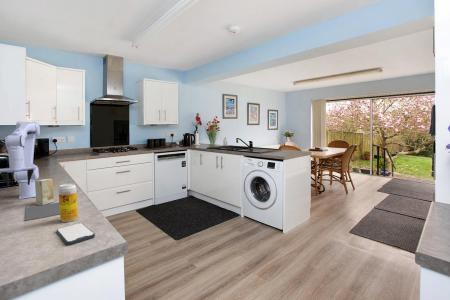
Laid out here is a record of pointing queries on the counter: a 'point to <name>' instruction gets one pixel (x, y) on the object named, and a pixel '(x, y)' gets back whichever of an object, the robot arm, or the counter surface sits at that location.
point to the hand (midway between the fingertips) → (18, 185)
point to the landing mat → (42, 211)
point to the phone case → (75, 234)
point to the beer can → (68, 202)
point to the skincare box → (44, 191)
